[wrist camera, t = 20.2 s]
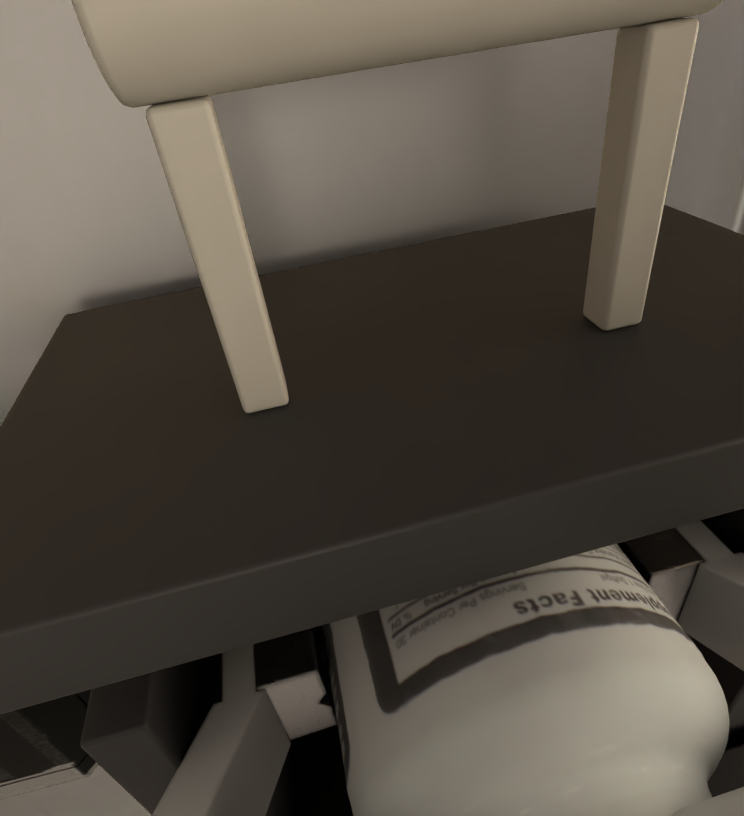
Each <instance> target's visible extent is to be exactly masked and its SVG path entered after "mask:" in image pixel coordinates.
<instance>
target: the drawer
mask: <svg viewBox="0 0 744 816" xmlns="http://www.w3.org/2000/svg"><path fill="white" fill-rule="evenodd" d="M722 1H724V0H72V3H73V6H74V9H75V11H76V14H77V17H78V20H79V22H80V25H81V28H82V30H83V33H84V35H85V38H86V40H87V43H88V45H89V47H90V50H91V52H92V54H93V56H94V59H95V61H96V63H97V65H98V67H99V69H100V71H101V73H102V75H103V77H104V79H105V80H106V82H107V84H108V86H109V87H110V89H111V90H112V92H113V93H114V94H115V96H116V97H117V99H118V100H119V101H120V102H121V103H122V104H123V105H125V106H129V107H133V108H134V107H140V106H147V105H152V106H151V107H149V108H148V109H147V110H146V118H147V121H148V124H149V127H150V130H151V133H152V136H153V139H154V142H155V145H156V148H157V151H158V154H159V157H160V160H161V163H162V166H163V169H164V172H165V175H166V178H167V181H168V184H169V187H170V190H171V193H172V196H173V199H174V202H175V205H176V208H177V211H178V214H179V218H180V221H181V224H182V227H183V230H184V233H185V236H186V239H187V242H188V245H189V248H190V251H191V254H192V257H193V260H194V263H195V266H196V269H197V272H198V275H199V278H200V281H201V284H202V287H200V288H196V289H191V290H186V291H181V292H176V293H171V294H166V295H161V296H156V297H151V298H146V299H141V300H136V301H131V302H126V303H121V304H117V305H112V306H107V307H102V308H97V309H92V310H87V311H82V312H77V313H72V314H67V315H65V316H64V318H63V319H62V321H61V323H60V325H59V326H58V328H57V330H56V332H55V333H54V335H53V337H52V338H51V340H50V342H49V344H48V345H47V347H46V349H45V351H44V352H43V354H42V356H41V358H40V359H39V361H38V363H37V365H36V366H35V368H34V370H33V371H32V373H31V375H30V377H29V378H28V380H27V382H26V384H25V385H24V387H23V389H22V391H21V392H20V394H19V396H18V398H17V399H16V401H15V403H14V405H13V406H12V408H11V410H10V411H9V413H8V415H7V417H6V418H5V420H4V422H3V424H2V425H1V427H0V714H3V713H7V712H11V711H14V710H18V709H21V708H25V707H29V706H32V705H36V704H40V703H43V702H47V701H50V700H54V699H58V698H61V697H65V696H68V695H72V694H76V693H79V692H83V691H86V690H90V689H91V692H90V697H89V702H88V707H87V712H86V717H85V722H84V726H83V731H82V736H81V741H80V745H81V748H82V749H83V750H84V751H85V752H87V753H88V754H89V755H90V756H91V757H92V758H93V759H94V760H95V761H96V762H97V763H98V764H99V765H100V766H101V767H102V768H103V769H104V770H105V771H106V772H108V773H109V774H110V775H111V776H112V777H113V778H114V779H115V780H116V781H117V782H118V783H119V784H120V785H121V786H122V787H123V788H124V789H125V790H126V791H127V792H128V793H130V794H131V795H132V796H133V797H134V798H135V799H136V800H137V801H138V802H139V803H140V804H141V805H142V806H143V807H144V808H145V809H146V810H147V811H148V812H149V813H151V814H153V812H154V810H155V809H156V807H157V805H158V803H159V801H160V800H161V798H162V796H163V794H164V792H165V790H166V789H167V787H168V785H169V783H170V781H171V780H172V778H173V776H174V774H175V772H176V770H177V769H178V767H179V766H180V764H181V761H182V760H183V758H184V756H185V754H186V752H187V750H188V749H189V747H190V745H191V743H192V741H193V740H194V738H195V736H196V734H197V732H198V731H199V729H200V727H201V725H202V723H203V721H204V720H205V718H206V716H207V714H208V712H209V711H210V709H211V707H212V705H213V704H215V703H218V702H221V701H222V653H224V652H227V651H231V650H234V649H238V648H242V647H245V646H249V645H253V644H256V643H260V642H263V641H267V640H271V639H274V638H278V637H281V636H285V635H289V634H292V633H296V632H299V631H303V630H307V629H310V628H314V627H318V626H320V628H321V632H322V637H323V630H322V625H325V624H328V623H332V622H336V621H339V620H343V619H346V618H350V617H354V616H357V615H361V614H364V613H368V612H372V611H375V610H379V609H382V608H386V607H390V606H393V605H397V604H401V603H404V602H408V601H411V600H415V599H419V598H422V597H426V596H429V595H433V594H437V593H440V592H444V591H447V590H451V589H455V588H458V587H462V586H466V585H469V584H473V583H476V582H480V581H484V580H487V579H491V578H494V577H498V576H502V575H505V574H509V573H512V572H516V571H520V570H523V569H527V568H531V567H534V566H538V565H541V564H545V563H549V562H552V561H556V560H559V559H563V558H567V557H570V556H574V555H577V554H581V553H585V552H588V551H592V550H595V549H599V548H603V547H606V546H610V545H614V544H617V543H621V542H624V541H628V540H632V539H635V538H639V537H642V536H646V535H650V534H653V533H657V532H660V531H664V530H668V529H671V528H675V527H679V526H682V525H686V524H689V523H693V522H697V521H700V520H701V521H702V522H703V523H704V524H705V525H706V526H707V527H708V528H709V529H710V530H711V531H712V532H713V533H714V534H715V535H716V536H717V537H718V538H719V539H720V540H721V541H722V542H723V543H724V544H725V545H726V546H727V547H728V548H729V549H730V550H731V551H732V552H733V553H734V554H735V553H739V552H742V553H744V235H742V234H739V233H736V232H734V231H731V230H729V229H726V228H723V227H721V226H718V225H716V224H713V223H710V222H708V221H705V220H703V219H700V218H697V217H695V216H692V215H690V214H687V213H684V212H682V211H679V210H677V209H674V208H671V207H669V206H666V205H664V203H665V197H666V192H667V187H668V182H669V177H670V172H671V167H672V162H673V157H674V152H675V147H676V142H677V136H678V131H679V126H680V121H681V116H682V111H683V106H684V101H685V96H686V91H687V86H688V80H689V75H690V70H691V65H692V60H693V55H694V50H695V45H696V40H697V35H698V30H699V21H698V20H697V19H694V18H683V17H689V16H695V15H700V14H703V13H706V12H707V11H709V10H711V9H713V8H714V7H716V6H717V5H718V4H720V3H721V2H722ZM616 28H620V29H619V31H618V34H617V40H616V48H615V56H614V64H613V73H612V81H611V89H610V97H609V105H608V113H607V121H606V129H605V138H604V146H603V154H602V162H601V170H600V178H599V186H598V194H597V202H596V208H591V209H586V210H581V211H576V212H571V213H566V214H561V215H556V216H551V217H546V218H541V219H536V220H531V221H526V222H522V223H517V224H512V225H507V226H502V227H497V228H492V229H487V230H482V231H477V232H472V233H467V234H462V235H457V236H452V237H447V238H442V239H438V240H433V241H428V242H423V243H418V244H413V245H408V246H403V247H398V248H393V249H388V250H383V251H378V252H373V253H368V254H363V255H359V256H354V257H349V258H344V259H339V260H334V261H329V262H324V263H319V264H314V265H309V266H304V267H299V268H294V269H289V270H284V271H279V272H275V273H270V274H265V275H260V276H258V273H257V269H256V265H255V261H254V257H253V253H252V250H251V246H250V242H249V238H248V234H247V231H246V227H245V223H244V219H243V215H242V211H241V208H240V204H239V200H238V196H237V192H236V189H235V185H234V181H233V177H232V173H231V170H230V166H229V162H228V158H227V154H226V150H225V147H224V143H223V139H222V135H221V131H220V128H219V124H218V120H217V116H216V112H215V109H214V105H213V101H212V100H211V98H210V97H209V96H208V95H214V94H220V93H226V92H232V91H238V90H244V89H250V88H256V87H262V86H268V85H275V84H281V83H287V82H293V81H299V80H305V79H311V78H317V77H323V76H329V75H335V74H342V73H348V72H354V71H360V70H366V69H372V68H378V67H384V66H390V65H396V64H402V63H409V62H415V61H421V60H427V59H433V58H439V57H445V56H451V55H457V54H463V53H469V52H476V51H482V50H488V49H494V48H500V47H506V46H512V45H518V44H524V43H530V42H536V41H543V40H549V39H555V38H561V37H567V36H573V35H579V34H585V33H591V32H597V31H603V30H610V29H616ZM687 635H688V634H687ZM688 637H689V638H690V639H691V640H692V641H693V642H694V644H695V645H696V646H697V648H698V649H699V650H700V652H701V653H702V655H703V657H704V659H705V661H706V662H707V664H708V665H709V666H710V668H711V669H712V671H713V672H714V674H715V675H716V677H717V679H718V681H719V683H720V685H721V688H722V690H723V693H724V696H725V699H726V702H727V705H728V713H729V722H730V725H729V734H728V742H727V745H726V748H725V750H726V749H729V748H732V747H733V746H734V745H735V743H736V741H737V740H738V738H739V737H740V735H741V734H742V732H743V731H744V671H743V670H741V669H740V668H738V667H737V666H735V665H734V664H732V663H731V662H729V661H727V660H726V659H724V658H723V657H721V656H720V655H718V654H717V653H715V652H714V651H712V650H711V649H709V648H708V647H706V646H705V645H703V644H702V643H700V642H698V641H697V640H695V639H694V638H692V637H691V636H689V635H688ZM323 642H324V637H323ZM324 647H325V643H324ZM325 652H326V649H325ZM326 658H327V654H326ZM325 669H326V672H327V676H328V679H329V682H330V676H329V668H328V660H327V665H326V667H325ZM330 685H331V682H330ZM331 689H332V687H331ZM332 695H333V692H332ZM333 701H334V698H333ZM334 708H335V704H334ZM335 714H336V711H335ZM336 720H337V718H336ZM289 741H290V743H291V745H290V748H289V751H288V753H287V756H286V759H285V762H284V765H283V767H282V770H281V773H280V776H279V779H278V781H277V784H276V787H275V790H274V793H273V795H272V798H271V801H270V804H269V807H268V810H267V812H266V815H265V816H353V812H352V808H351V803H350V800H349V796H348V792H347V788H346V779H345V770H344V764H343V757H342V749H341V743H340V737H339V731H338V724H337V725H335V726H332V727H329V728H326V729H323V730H320V731H316V732H313V733H310V734H307V735H304V736H301V737H298V738H295V739H292V740H289Z"/></svg>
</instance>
